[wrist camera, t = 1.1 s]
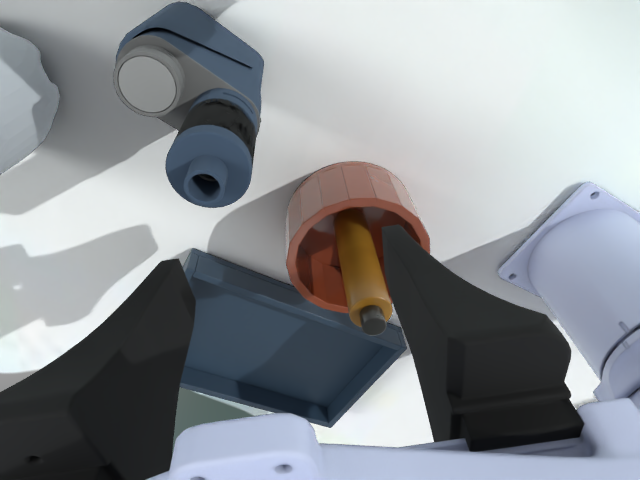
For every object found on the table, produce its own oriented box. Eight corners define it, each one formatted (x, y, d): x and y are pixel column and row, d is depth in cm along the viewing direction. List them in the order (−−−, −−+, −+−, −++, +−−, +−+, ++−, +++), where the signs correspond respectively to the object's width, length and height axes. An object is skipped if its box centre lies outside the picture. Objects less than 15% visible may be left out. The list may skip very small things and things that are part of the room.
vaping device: (246, 105, 22) (220, 243, 13) (148, 37, 20) (25, 140, 11) (276, 62, 21) (272, 177, 12) (175, -14, 19) (67, 47, 9)
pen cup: (437, 194, 26) (460, 234, 23) (366, 283, 30) (377, 329, 27) (327, 137, 24) (335, 172, 20) (264, 241, 28) (261, 286, 24)
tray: (401, 327, 33) (407, 348, 31) (328, 406, 38) (330, 428, 36) (192, 247, 27) (187, 267, 26) (139, 352, 32) (132, 374, 31)
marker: (373, 217, 26) (405, 320, 20) (355, 241, 27) (380, 348, 20) (344, 203, 26) (368, 305, 19) (327, 229, 27) (343, 334, 20)
